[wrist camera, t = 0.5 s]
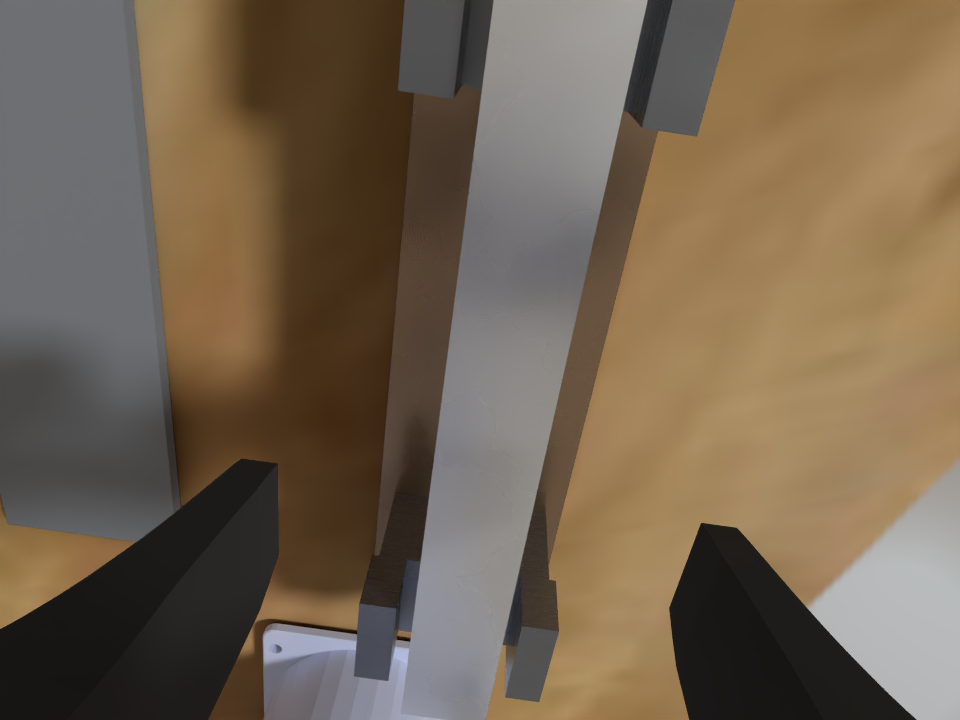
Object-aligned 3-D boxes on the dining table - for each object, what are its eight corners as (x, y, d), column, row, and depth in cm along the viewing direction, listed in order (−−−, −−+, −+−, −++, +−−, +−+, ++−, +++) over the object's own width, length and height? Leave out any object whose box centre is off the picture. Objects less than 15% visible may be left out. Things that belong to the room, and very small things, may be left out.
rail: (487, 653, 22) (484, 725, 20) (412, 643, 22) (400, 713, 20) (648, -98, 12) (673, -116, 10) (513, -119, 12) (512, -141, 10)
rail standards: (539, 588, 25) (543, 724, 20) (375, 565, 25) (342, 697, 20) (708, -94, 15) (792, -131, 10) (437, -138, 15) (399, -194, 10)
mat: (183, 537, 25) (177, 547, 24) (16, 514, 25) (7, 524, 24) (116, -189, 15) (103, -194, 14) (-165, -233, 15) (-185, -240, 14)
